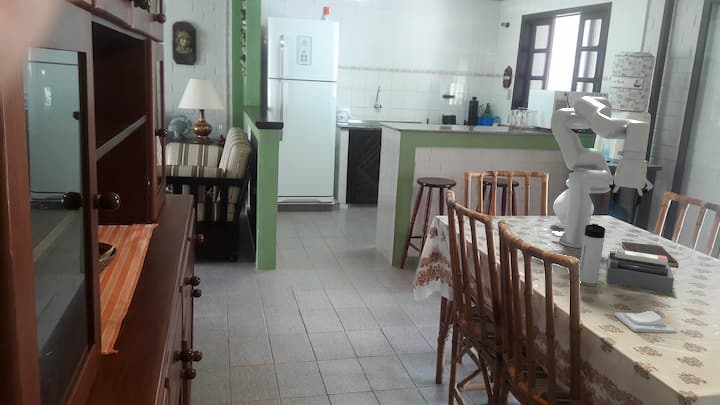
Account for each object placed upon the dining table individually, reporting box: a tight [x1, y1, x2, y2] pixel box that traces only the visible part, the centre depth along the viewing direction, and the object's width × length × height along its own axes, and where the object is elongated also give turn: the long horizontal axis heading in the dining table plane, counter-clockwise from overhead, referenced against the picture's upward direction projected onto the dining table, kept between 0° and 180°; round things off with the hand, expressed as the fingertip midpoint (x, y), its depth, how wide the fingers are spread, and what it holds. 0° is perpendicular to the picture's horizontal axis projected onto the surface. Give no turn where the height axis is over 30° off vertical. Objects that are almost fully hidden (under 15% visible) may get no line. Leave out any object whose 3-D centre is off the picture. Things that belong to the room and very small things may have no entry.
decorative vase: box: [552, 172, 595, 230], centre depth 267 cm, size 18×18×25 cm
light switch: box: [613, 310, 678, 334], centre depth 162 cm, size 11×4×13 cm
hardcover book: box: [621, 241, 679, 268], centre depth 230 cm, size 16×23×2 cm
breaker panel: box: [605, 250, 675, 294], centre depth 199 cm, size 20×16×7 cm
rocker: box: [614, 248, 668, 265], centre depth 198 cm, size 16×5×2 cm, turn 68°
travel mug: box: [579, 223, 606, 287], centre depth 191 cm, size 6×7×20 cm
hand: (625, 203), depth 210 cm, fingers open, 6 cm apart
